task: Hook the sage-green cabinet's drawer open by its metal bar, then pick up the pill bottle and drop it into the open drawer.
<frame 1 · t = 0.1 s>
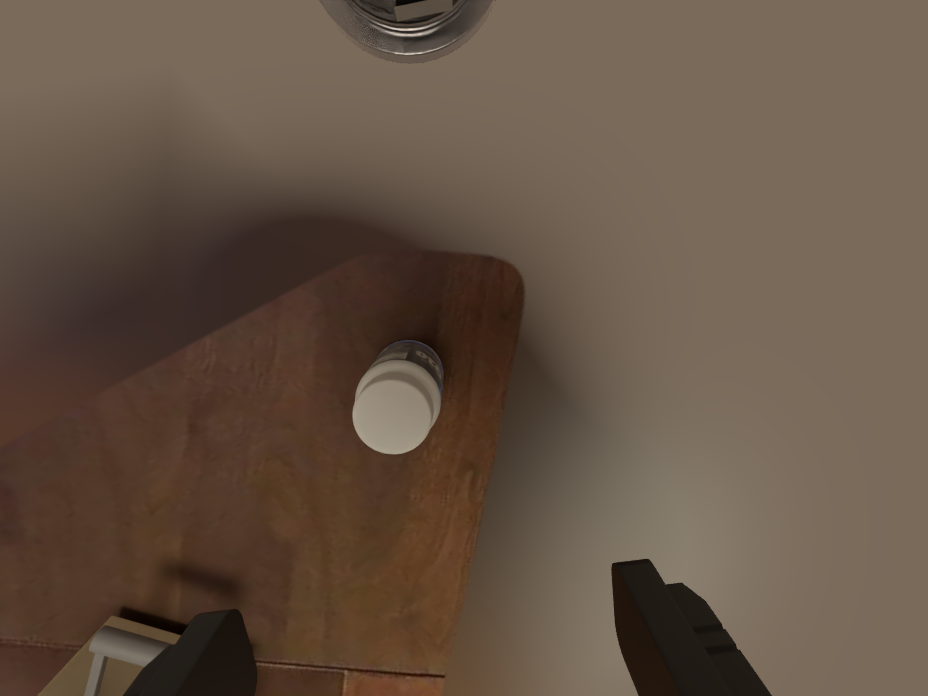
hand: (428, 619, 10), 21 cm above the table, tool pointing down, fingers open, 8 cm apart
pill bottle: (409, 371, 31), on the table
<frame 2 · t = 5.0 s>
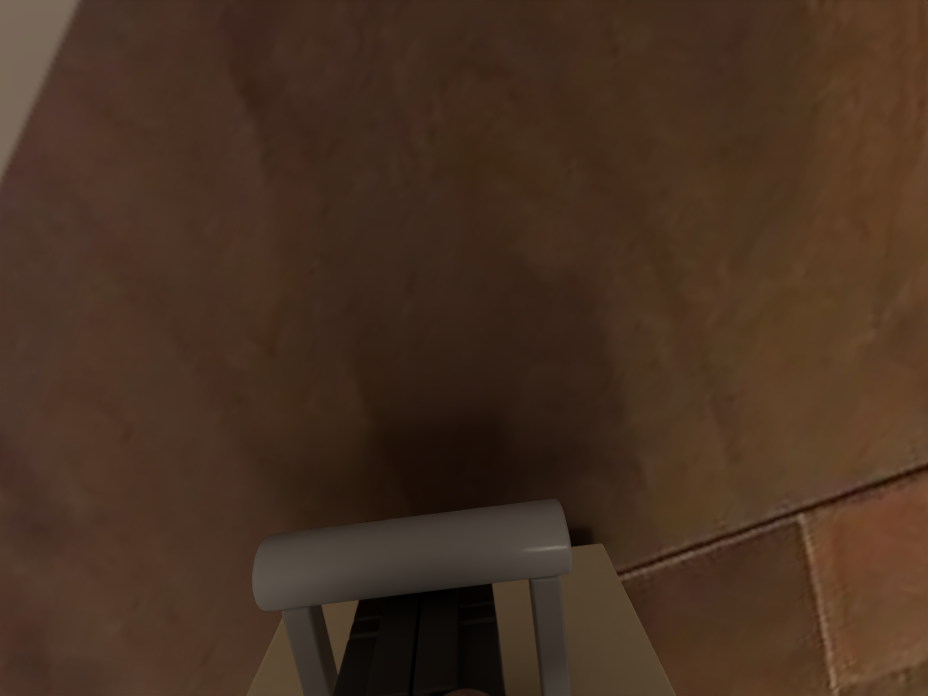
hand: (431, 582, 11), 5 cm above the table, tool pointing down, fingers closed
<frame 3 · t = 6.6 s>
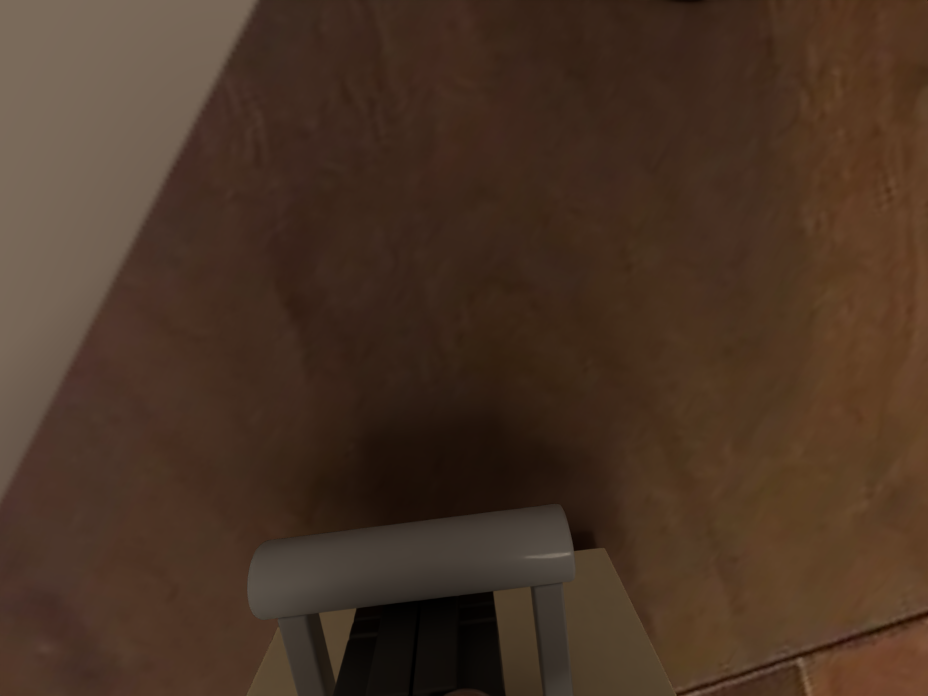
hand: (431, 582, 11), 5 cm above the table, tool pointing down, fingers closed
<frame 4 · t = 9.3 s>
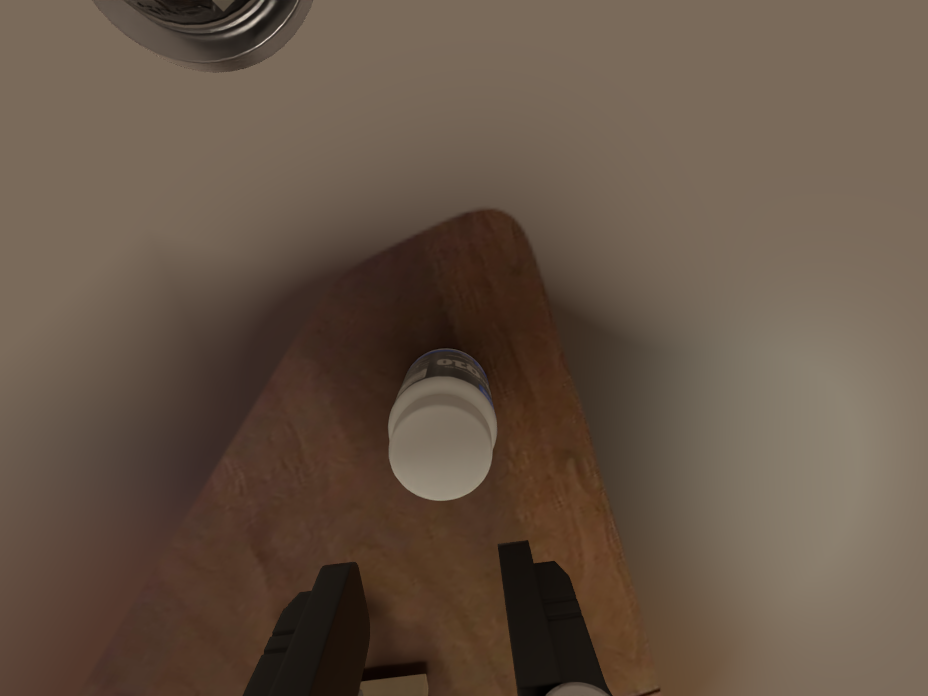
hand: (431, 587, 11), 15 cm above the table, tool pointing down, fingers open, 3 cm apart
pill bottle: (446, 386, 26), on the table
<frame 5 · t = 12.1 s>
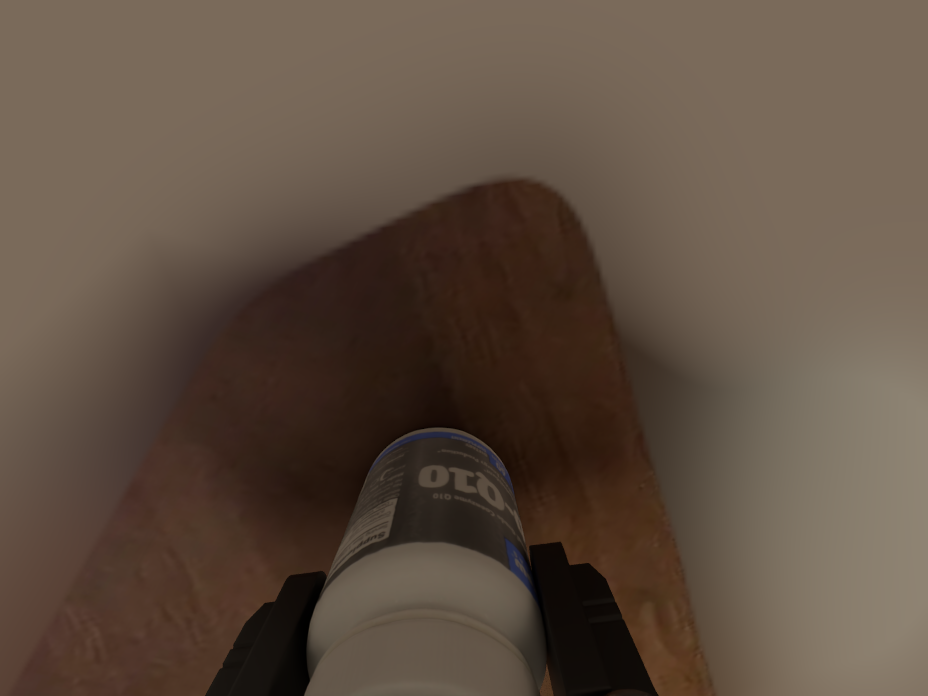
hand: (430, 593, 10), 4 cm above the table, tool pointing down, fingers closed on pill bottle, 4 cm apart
pill bottle: (438, 488, 15), on the table, touching gripper
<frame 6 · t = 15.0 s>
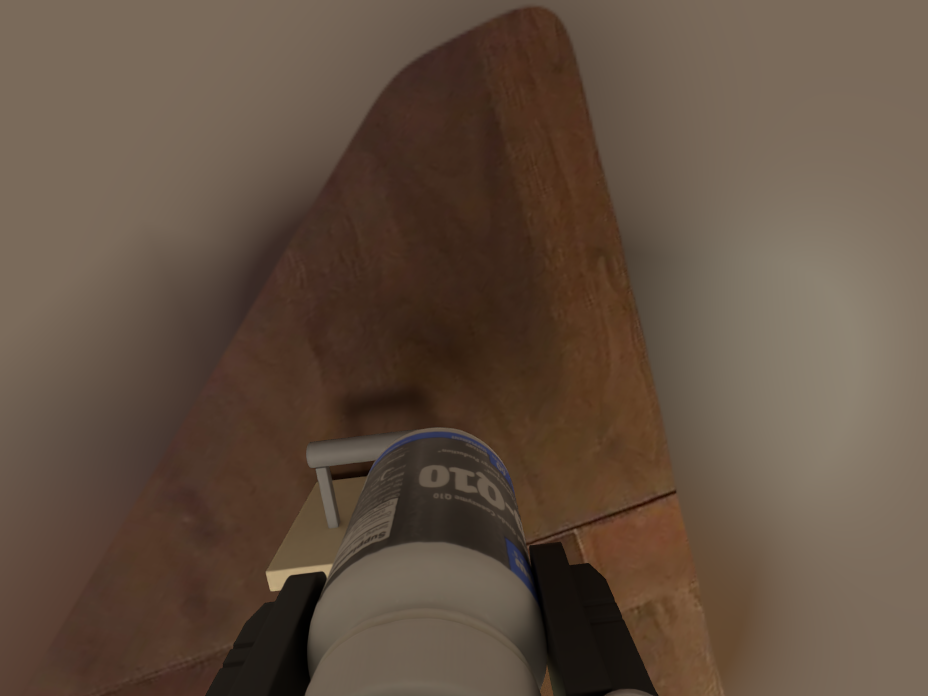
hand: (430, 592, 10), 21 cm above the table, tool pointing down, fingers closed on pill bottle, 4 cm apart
pill bottle: (439, 488, 15), point 16 cm above the table, touching gripper
drawer: (390, 561, 28), point 5 cm above the table, slide at 7.9 cm
when the fingers open (14 cm above the table, at t = 18.0 s): pill bottle drops 8 cm, resting on drawer.
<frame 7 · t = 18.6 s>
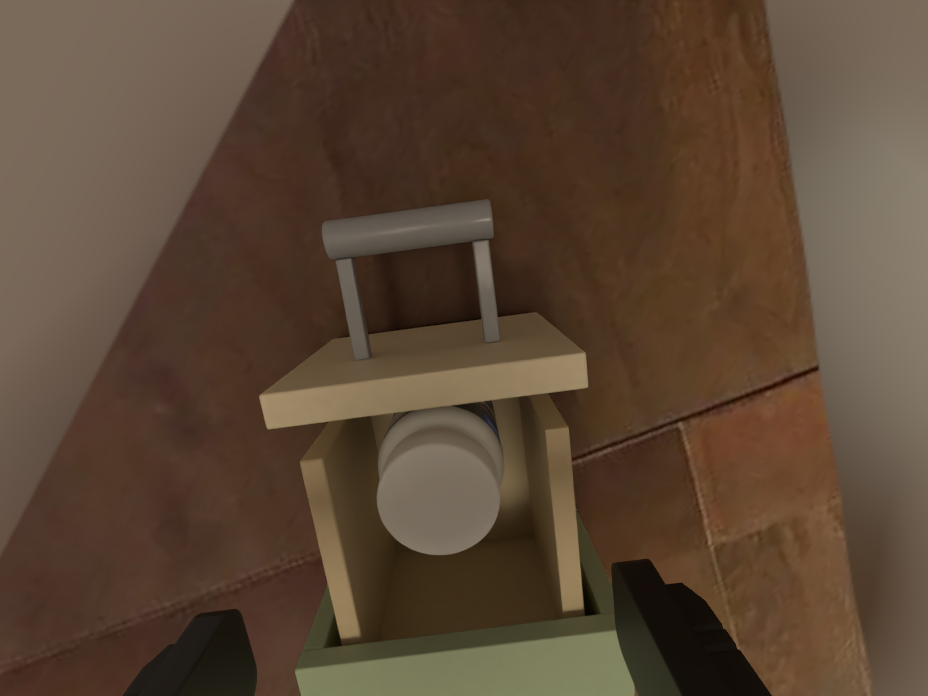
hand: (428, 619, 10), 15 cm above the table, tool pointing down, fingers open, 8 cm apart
pill bottle: (445, 409, 23), point 2 cm above the table, touching drawer
drawer: (441, 427, 19), point 5 cm above the table, slide at 8.4 cm, touching pill bottle
cabinet: (474, 589, 27), on the table
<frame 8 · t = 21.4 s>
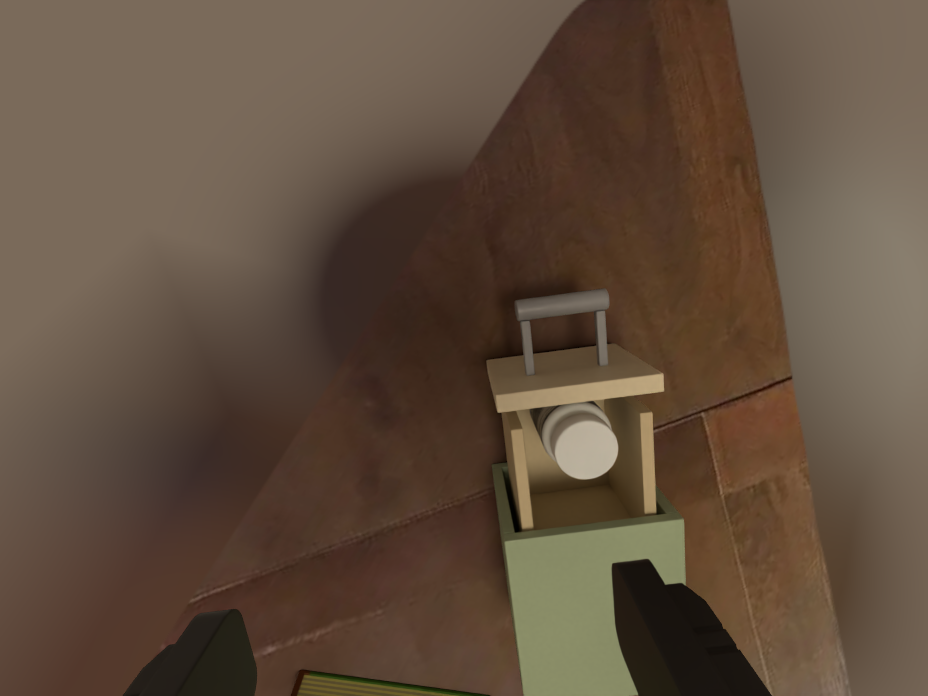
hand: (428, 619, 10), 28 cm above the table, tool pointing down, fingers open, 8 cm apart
pill bottle: (557, 404, 37), point 2 cm above the table, touching drawer
drawer: (567, 413, 33), point 5 cm above the table, slide at 8.4 cm, touching pill bottle
cabinet: (564, 524, 41), on the table
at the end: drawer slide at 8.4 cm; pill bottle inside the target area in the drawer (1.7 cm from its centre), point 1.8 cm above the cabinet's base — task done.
